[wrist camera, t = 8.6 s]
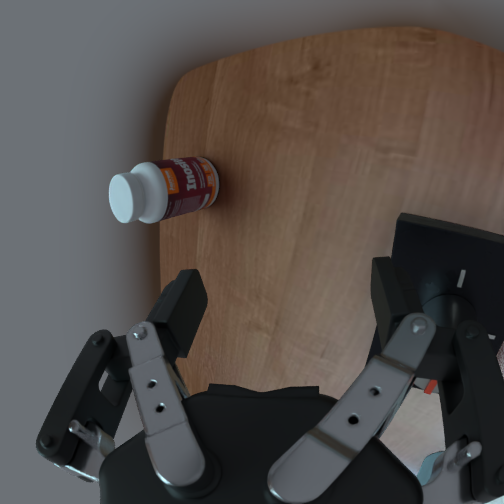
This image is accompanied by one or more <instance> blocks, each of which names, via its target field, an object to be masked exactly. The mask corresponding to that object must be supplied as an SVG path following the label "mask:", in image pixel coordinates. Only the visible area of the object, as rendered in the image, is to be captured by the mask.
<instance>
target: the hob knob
mask: <svg viewBox="0 0 504 504" xmlns="http://www.w3.org/2000/svg"><path fill="white" fill-rule="evenodd" d="M422 308H423V311H424V313H425V314H426V315H428V316H430V317H431V318H432V319H433V320H434V322H435V324H436V325H437V326H441V327H447V328H454V329H456V328H457V326H458V324H459V323H460V322H462V321H464V320H475V321H477V315H476V312H475V310H474V308H473V306H472V305H471V304H470V303H469V302H468V301H467V300H466V299H464V298H462V297H460V296H457V295H441V296H438V297H435V298H433V299H431V300H430V301H428V302H427V303H426V304H425V305H424V306H423V307H422ZM414 384H415V385H417V386H418V387H419V388H421V389H423V390H424V393H427V394H431V392H433V393H439V390H438V384H437V380H430V379H423V378H417V379H416V381H415V382H414Z"/></svg>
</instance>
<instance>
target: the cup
mask: <svg viewBox="0 0 504 504" xmlns="http://www.w3.org/2000/svg"><path fill="white" fill-rule="evenodd" d="M441 453H443V452H437V453H434V454H431V455H429V456H428V457H426V458H425V459H424V461H423V464H422V466H421V468H420V470H419V473H418V475H417V479H418V480H419V482H420V484H421V486H423V485H425V484H426V483H427V482H428V480H429V479H430V477H431V474H432V467H433V464H434V462H435V460H436V458H437V457H438V456H439V455H440V454H441Z"/></svg>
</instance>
